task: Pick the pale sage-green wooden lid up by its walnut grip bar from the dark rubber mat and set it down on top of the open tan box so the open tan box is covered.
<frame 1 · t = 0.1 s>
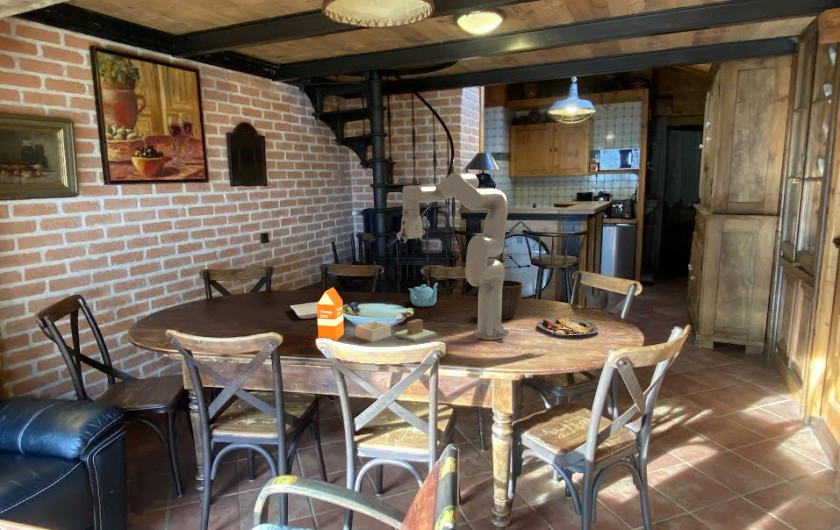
hand: (411, 250, 240), 31 cm above the table, fingers open, 9 cm apart
plant pot: (505, 317, 242), on the table
lid: (415, 335, 214), resting on mat
teapot: (425, 305, 267), on the table
orange juice: (331, 337, 215), on the table
food plate: (566, 330, 221), on the table
open tan box: (373, 337, 213), on the table
mat: (415, 336, 214), on the table
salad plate: (315, 314, 252), on the table
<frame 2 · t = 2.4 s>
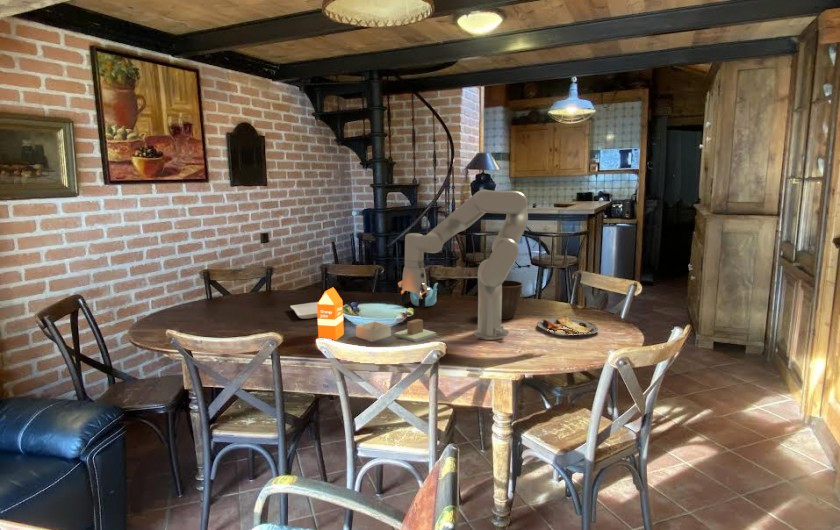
hand: (413, 305, 212), 13 cm above the table, fingers open, 9 cm apart
nothing on the table moved.
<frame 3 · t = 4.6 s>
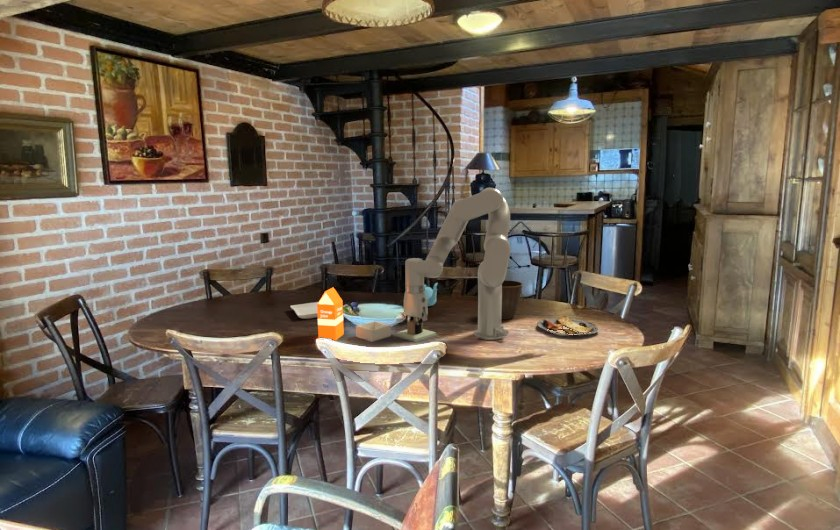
hand: (415, 332, 214), 2 cm above the table, fingers closed on lid, 3 cm apart
lid: (415, 335, 214), resting on mat, touching gripper
everything else where it was.
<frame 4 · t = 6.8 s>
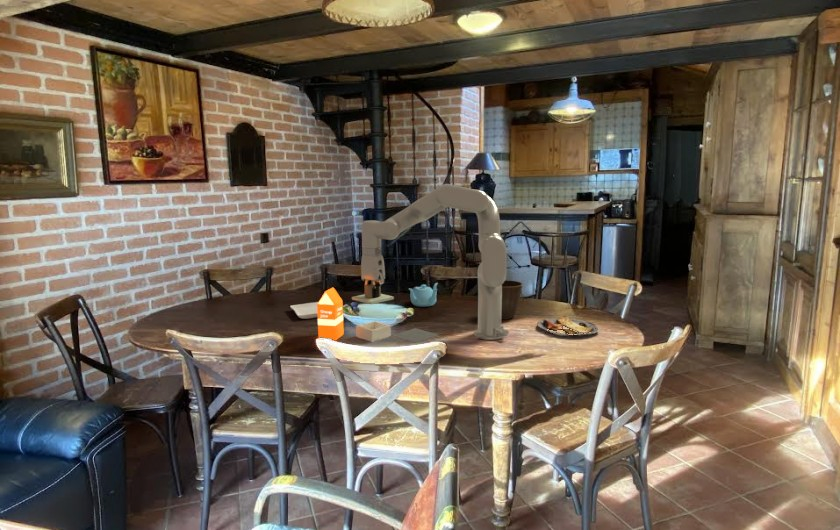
hand: (372, 296, 210), 17 cm above the table, fingers closed on lid, 3 cm apart
lid: (372, 299, 210), point 16 cm above the table, touching gripper
everything else where it was.
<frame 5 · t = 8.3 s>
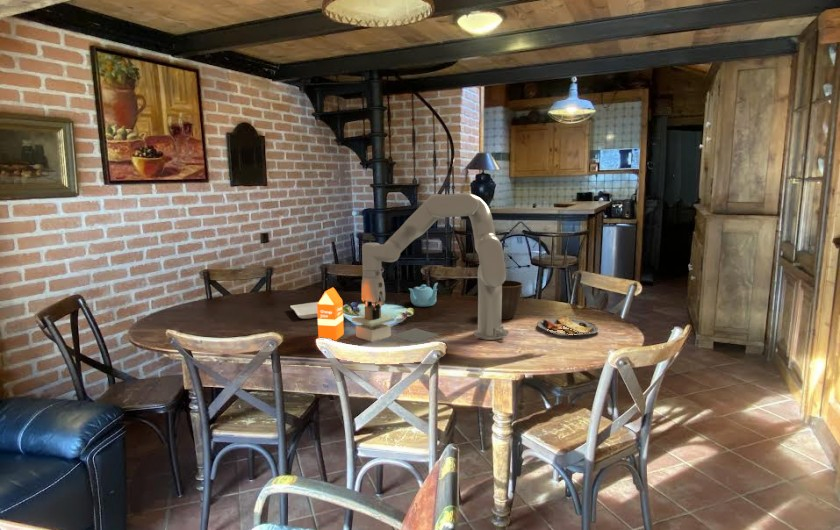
hand: (373, 317, 211), 8 cm above the table, fingers closed on lid, 3 cm apart
lid: (373, 320, 212), point 7 cm above the table, touching gripper
everything else where it was.
when the fingers open (7 cm above the table, at t = 9.2 s): lid drops 1 cm, resting on open tan box.
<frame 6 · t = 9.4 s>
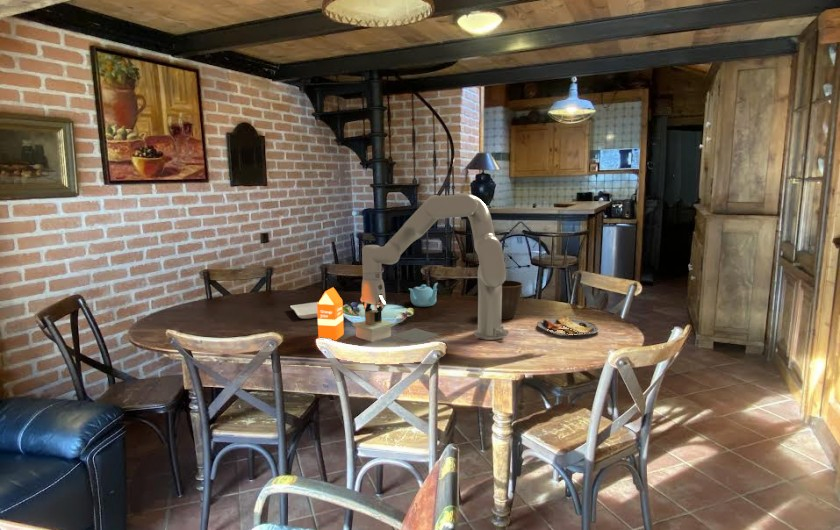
hand: (373, 319, 211), 8 cm above the table, fingers open, 5 cm apart
lid: (373, 325, 212), point 5 cm above the table, touching open tan box
everything else where it was.
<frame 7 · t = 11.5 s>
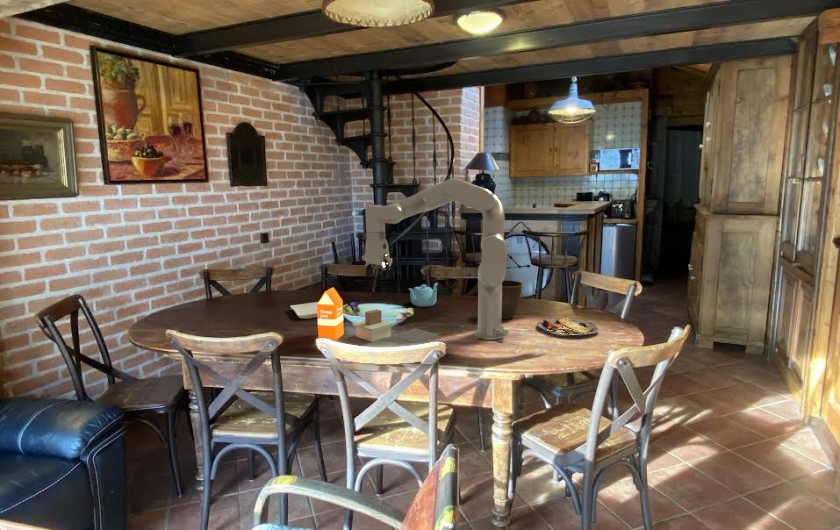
hand: (377, 278, 212), 24 cm above the table, fingers open, 9 cm apart
nothing on the table moved.
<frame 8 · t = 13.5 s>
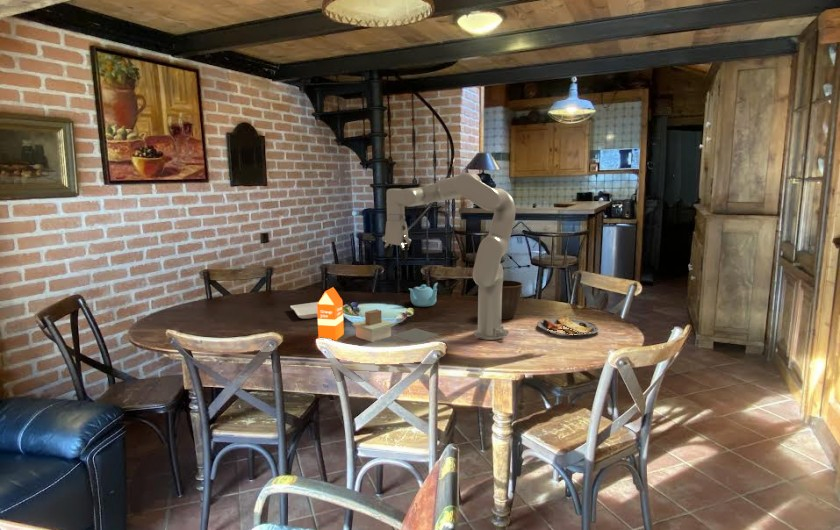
hand: (396, 257, 224), 30 cm above the table, fingers open, 9 cm apart
nothing on the table moved.
at the end: lid 0.1 cm off-centre on the open tan box, point 5.0 cm above the open tan box's base; lid tilted 0°; the gripper is holding nothing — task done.
